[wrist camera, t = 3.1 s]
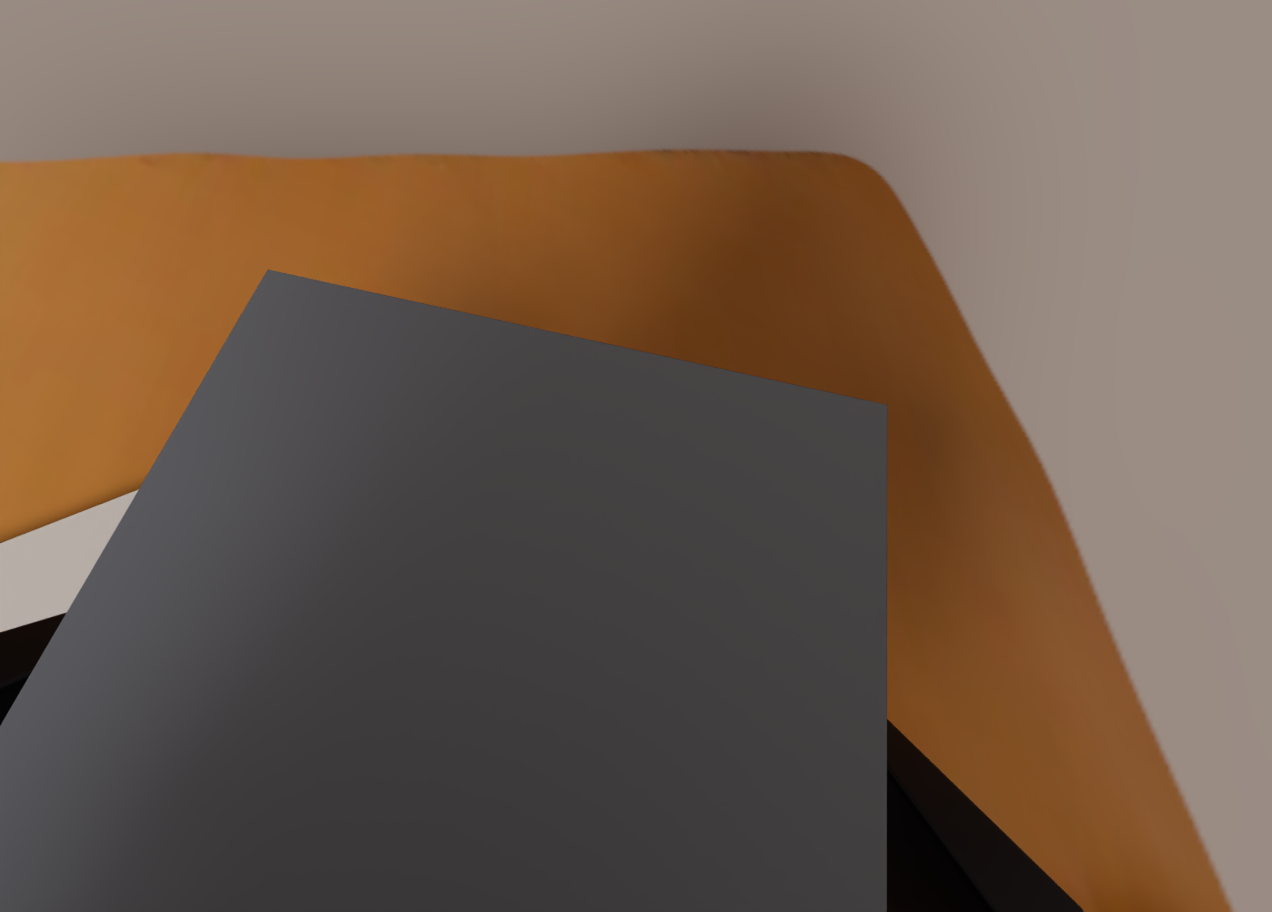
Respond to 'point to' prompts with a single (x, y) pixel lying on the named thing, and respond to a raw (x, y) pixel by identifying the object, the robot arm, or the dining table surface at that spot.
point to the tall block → (468, 637)
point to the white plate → (54, 563)
